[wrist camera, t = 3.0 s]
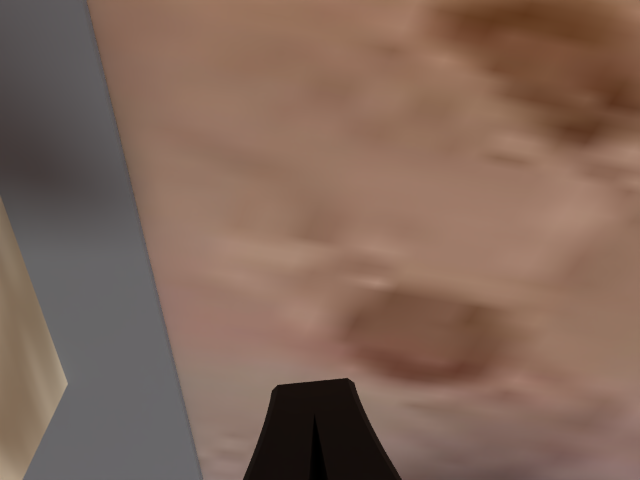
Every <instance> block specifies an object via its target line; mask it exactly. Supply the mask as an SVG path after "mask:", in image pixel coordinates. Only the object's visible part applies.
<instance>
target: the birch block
mask: <svg viewBox="0 0 640 480" xmlns="http://www.w3.org/2000/svg"><path fill="white" fill-rule="evenodd" d="M67 385H68V383H67V380H66V377H65V374H64V372H63V369H62V366H61V363H60V360H59V358H58V355H57V352H56V349H55V346H54V344H53V341H52V338H51V335H50V332H49V330H48V327H47V324H46V321H45V319H44V316H43V313H42V310H41V307H40V305H39V302H38V299H37V296H36V293H35V291H34V288H33V285H32V282H31V279H30V277H29V274H28V271H27V268H26V266H25V263H24V260H23V257H22V254H21V252H20V249H19V246H18V243H17V240H16V238H15V235H14V232H13V229H12V226H11V224H10V221H9V218H8V215H7V213H6V210H5V207H4V204H3V201H2V199H1V196H0V480H23V477H24V475H25V473H26V471H27V469H28V467H29V465H30V463H31V461H32V458H33V456H34V454H35V452H36V450H37V448H38V446H39V444H40V442H41V440H42V437H43V435H44V433H45V431H46V429H47V427H48V425H49V423H50V421H51V418H52V416H53V414H54V412H55V410H56V408H57V406H58V404H59V402H60V400H61V397H62V395H63V393H64V391H65V389H66V387H67Z"/></svg>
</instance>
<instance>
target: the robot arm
mask: <svg viewBox="0 0 640 480" xmlns="http://www.w3.org/2000/svg"><path fill="white" fill-rule="evenodd" d="M243 480H402V479H401V477H400V476H399V474H398V472H397V470H396V469H395V467H394V465H393V464H392V462H391V460H390V459H389V457H388V455H387V454H386V452H385V450H384V448H383V447H382V445H381V443H380V441H379V439H378V437H377V436H376V434H375V432H374V430H373V428H372V426H371V424H370V422H369V420H368V417H367V415H366V413H365V411H364V409H363V406H362V404H361V402H360V399H359V396H358V394H357V391H356V388H355V384H354V382H352V381H351V380H350V379H348V378H343V379H333V380H323V381H313V382H303V383H293V384H283V385H277V386H276V387H275V388H274V389H273V390H272V393H271V399H270V403H269V407H268V411H267V415H266V418H265V422H264V425H263V428H262V431H261V434H260V437H259V440H258V442H257V445H256V448H255V451H254V453H253V456H252V458H251V461H250V463H249V466H248V468H247V471H246V473H245V476H244V478H243Z"/></svg>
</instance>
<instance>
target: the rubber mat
mask: <svg viewBox="0 0 640 480" xmlns="http://www.w3.org/2000/svg"><path fill="white" fill-rule="evenodd" d="M0 196H1V199H2V201H3V204H4V207H5V210H6V213H7V215H8V218H9V221H10V224H11V226H12V229H13V232H14V235H15V238H16V240H17V243H18V246H19V249H20V252H21V254H22V257H23V260H24V263H25V266H26V268H27V271H28V274H29V277H30V279H31V282H32V285H33V288H34V291H35V293H36V296H37V299H38V302H39V305H40V307H41V310H42V313H43V316H44V319H45V321H46V324H47V327H48V330H49V332H50V335H51V338H52V341H53V344H54V346H55V349H56V352H57V355H58V358H59V360H60V363H61V366H62V369H63V372H64V374H65V377H66V380H67V383H68V385H67V387H66V389H65V391H64V393H63V395H62V397H61V400H60V402H59V404H58V406H57V408H56V410H55V412H54V414H53V416H52V418H51V421H50V423H49V425H48V427H47V429H46V431H45V433H44V435H43V437H42V440H41V442H40V444H39V446H38V448H37V450H36V452H35V454H34V456H33V458H32V461H31V463H30V465H29V467H28V469H27V471H26V473H25V475H24V477H23V480H203V477H202V473H201V469H200V465H199V461H198V457H197V453H196V448H195V444H194V440H193V436H192V432H191V428H190V424H189V420H188V416H187V412H186V407H185V403H184V399H183V395H182V391H181V387H180V383H179V379H178V375H177V371H176V366H175V362H174V358H173V354H172V350H171V346H170V342H169V338H168V334H167V330H166V325H165V321H164V317H163V313H162V309H161V305H160V301H159V297H158V293H157V288H156V284H155V280H154V276H153V272H152V268H151V264H150V260H149V256H148V252H147V247H146V243H145V239H144V235H143V231H142V227H141V223H140V219H139V215H138V211H137V206H136V202H135V198H134V194H133V190H132V186H131V182H130V178H129V174H128V169H127V165H126V161H125V157H124V153H123V149H122V145H121V141H120V137H119V133H118V128H117V124H116V120H115V116H114V112H113V108H112V104H111V100H110V96H109V92H108V87H107V83H106V79H105V75H104V71H103V67H102V63H101V59H100V55H99V51H98V46H97V42H96V38H95V34H94V30H93V26H92V22H91V18H90V14H89V9H88V5H87V1H86V0H0Z"/></svg>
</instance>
